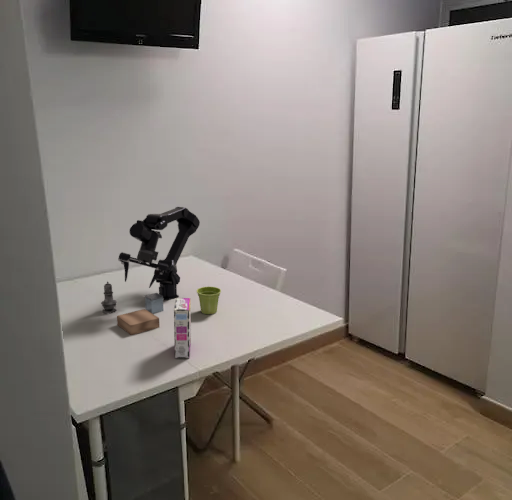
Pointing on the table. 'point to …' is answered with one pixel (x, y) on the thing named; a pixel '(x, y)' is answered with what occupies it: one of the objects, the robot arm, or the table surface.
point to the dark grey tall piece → (108, 299)
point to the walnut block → (138, 321)
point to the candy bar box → (182, 327)
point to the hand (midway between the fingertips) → (137, 284)
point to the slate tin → (154, 303)
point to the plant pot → (208, 299)
